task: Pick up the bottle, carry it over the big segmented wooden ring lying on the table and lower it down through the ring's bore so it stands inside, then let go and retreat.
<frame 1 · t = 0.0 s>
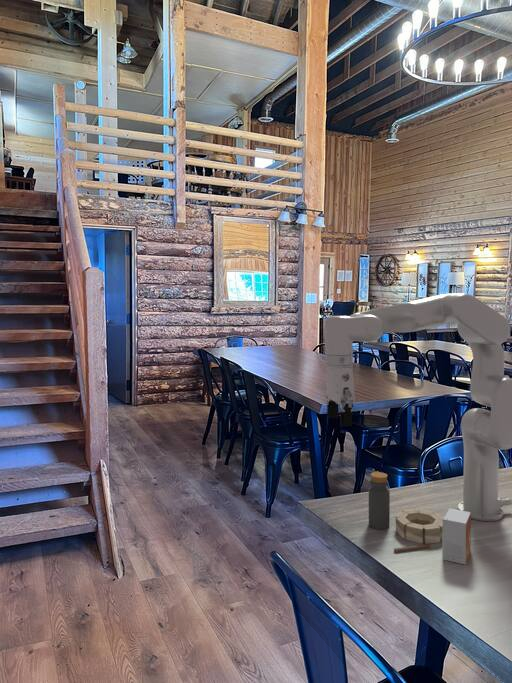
hand: (339, 421, 139), 31 cm above the table, fingers open, 9 cm apart
brown wooden stick: (412, 549, 131), on the table
small box: (456, 556, 127), on the table
segmented wooden ring: (420, 532, 140), on the table
bottle: (379, 526, 145), on the table
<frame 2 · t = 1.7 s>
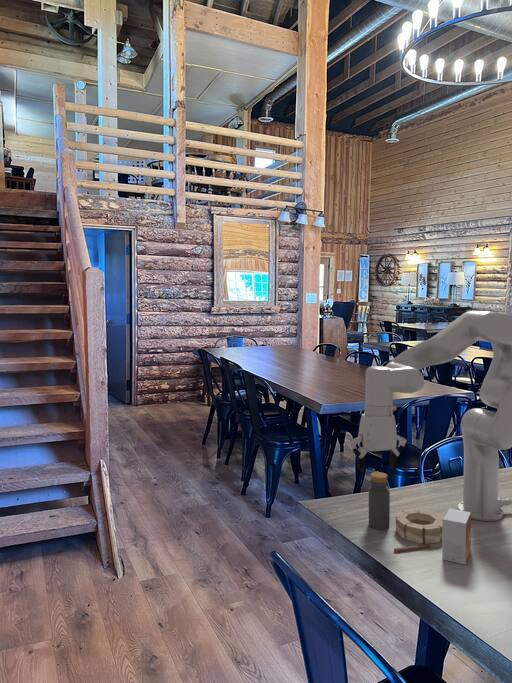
hand: (377, 469, 143), 17 cm above the table, fingers open, 9 cm apart
nothing on the table moved.
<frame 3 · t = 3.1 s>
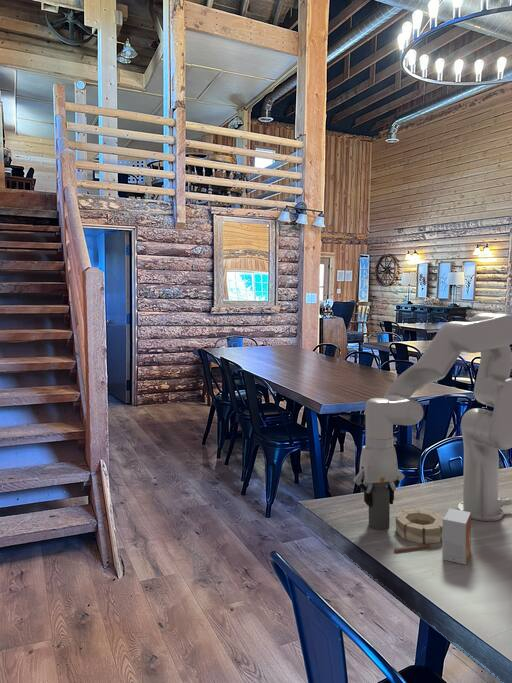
hand: (379, 503, 144), 7 cm above the table, fingers closed on bottle, 5 cm apart
bottle: (379, 526, 145), on the table, touching gripper
everything else where it was.
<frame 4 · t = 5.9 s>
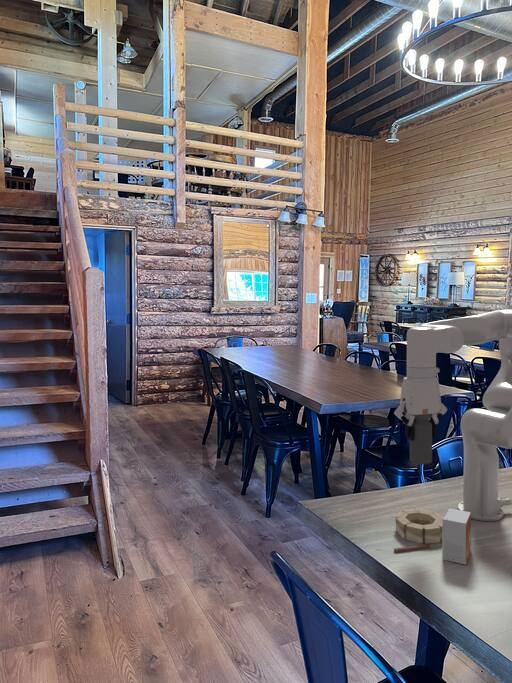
hand: (420, 437, 138), 27 cm above the table, fingers closed on bottle, 5 cm apart
bottle: (420, 461, 138), point 20 cm above the table, touching gripper
everything else where it was.
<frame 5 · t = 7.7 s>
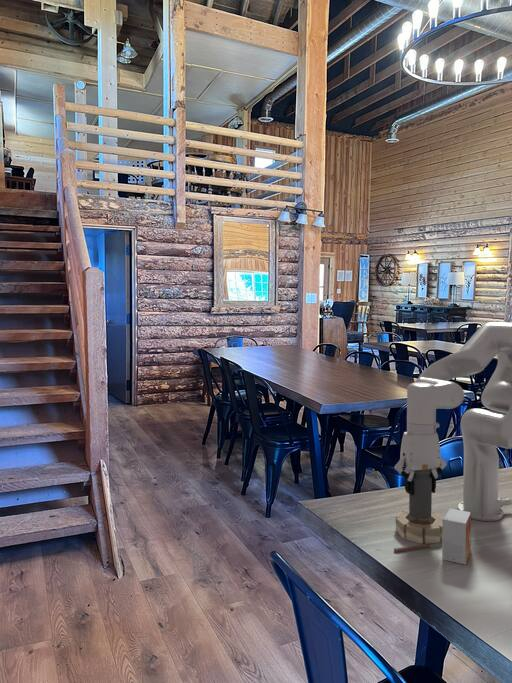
hand: (420, 491, 139), 12 cm above the table, fingers closed on bottle, 5 cm apart
bottle: (420, 515, 139), point 5 cm above the table, touching gripper
everything else where it was.
when the fingers open (8 cm above the table, at t = 8.9 s): bottle drops 1 cm, resting in segmented wooden ring.
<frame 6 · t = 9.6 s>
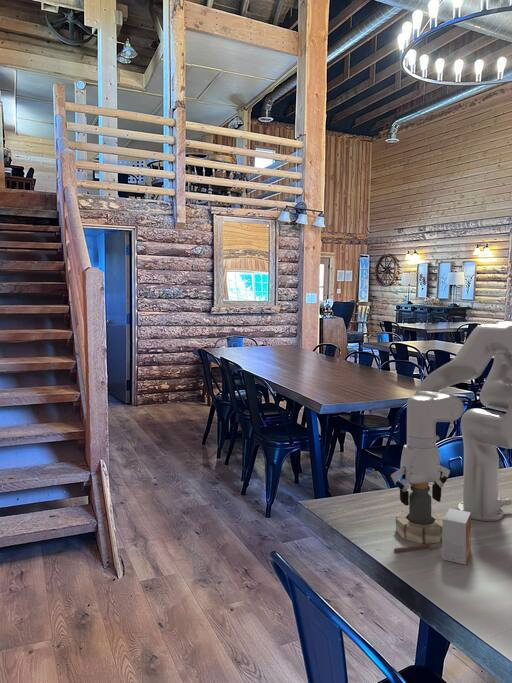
hand: (420, 501, 139), 9 cm above the table, fingers open, 9 cm apart
bottle: (420, 533, 140), resting in segmented wooden ring
everything else where it was.
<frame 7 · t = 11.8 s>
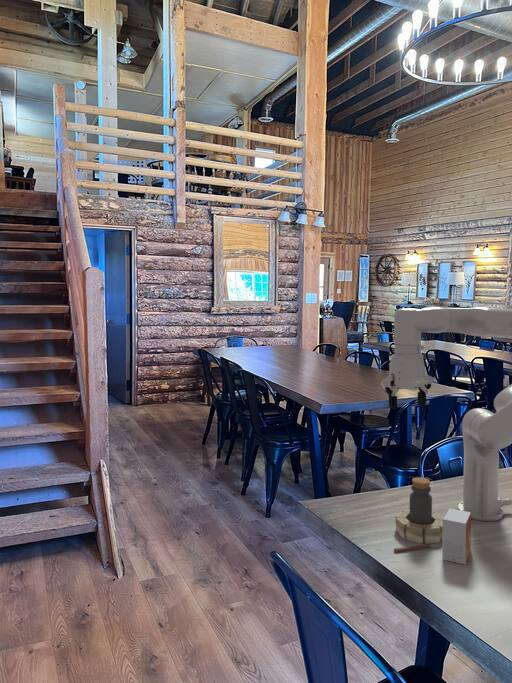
hand: (407, 407, 150), 33 cm above the table, fingers open, 9 cm apart
nothing on the table moved.
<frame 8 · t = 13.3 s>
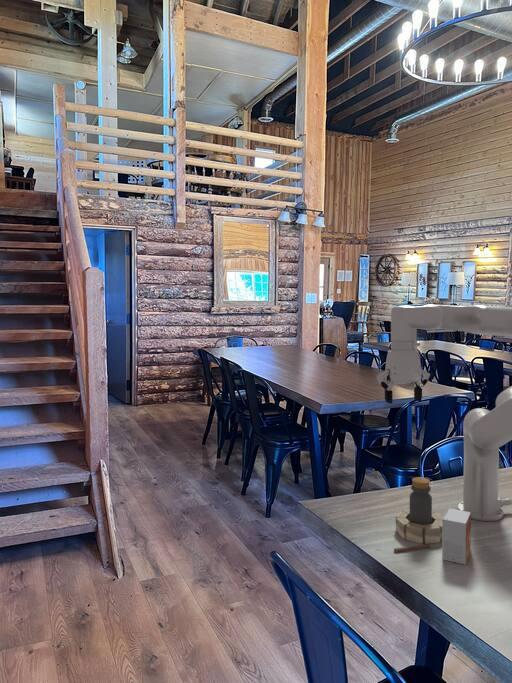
hand: (403, 401, 154), 33 cm above the table, fingers open, 9 cm apart
nothing on the table moved.
at the end: bottle 0.0 cm off-centre on the segmented wooden ring, point 0.0 cm above the segmented wooden ring's base; bottle tilted 0°; the gripper is holding nothing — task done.
